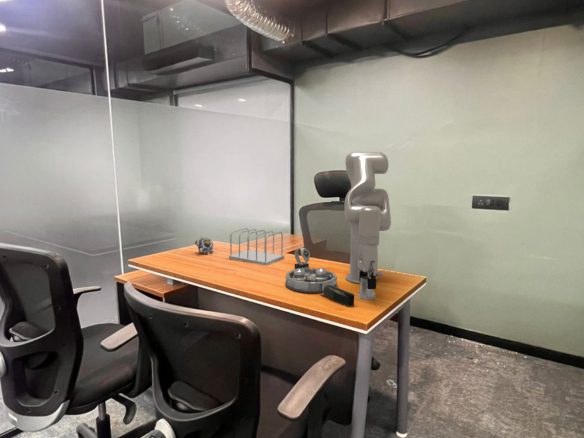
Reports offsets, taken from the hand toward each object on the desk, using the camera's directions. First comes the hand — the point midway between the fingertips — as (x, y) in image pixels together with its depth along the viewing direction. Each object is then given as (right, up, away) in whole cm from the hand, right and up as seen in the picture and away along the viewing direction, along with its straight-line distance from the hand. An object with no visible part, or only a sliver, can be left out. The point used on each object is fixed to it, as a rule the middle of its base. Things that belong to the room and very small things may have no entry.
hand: (367, 285), depth 131 cm
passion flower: (-80, +5, +71) cm, 107 cm away
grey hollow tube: (0, -5, +2) cm, 5 cm away
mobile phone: (-12, -6, -2) cm, 13 cm away
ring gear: (-20, -2, +15) cm, 26 cm away
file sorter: (-48, +3, +59) cm, 76 cm away
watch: (-24, 0, +37) cm, 44 cm away
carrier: (-20, -3, +15) cm, 26 cm away
